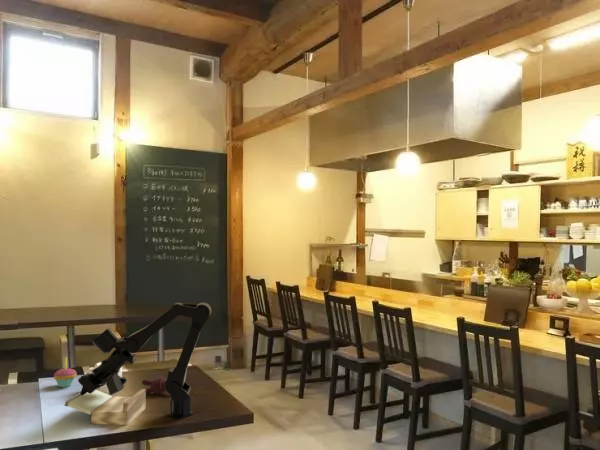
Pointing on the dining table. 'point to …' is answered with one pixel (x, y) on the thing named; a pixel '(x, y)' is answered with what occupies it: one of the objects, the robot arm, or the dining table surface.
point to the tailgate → (87, 401)
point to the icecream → (155, 385)
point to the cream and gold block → (119, 409)
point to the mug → (104, 388)
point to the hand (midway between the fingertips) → (81, 394)
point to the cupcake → (65, 376)
